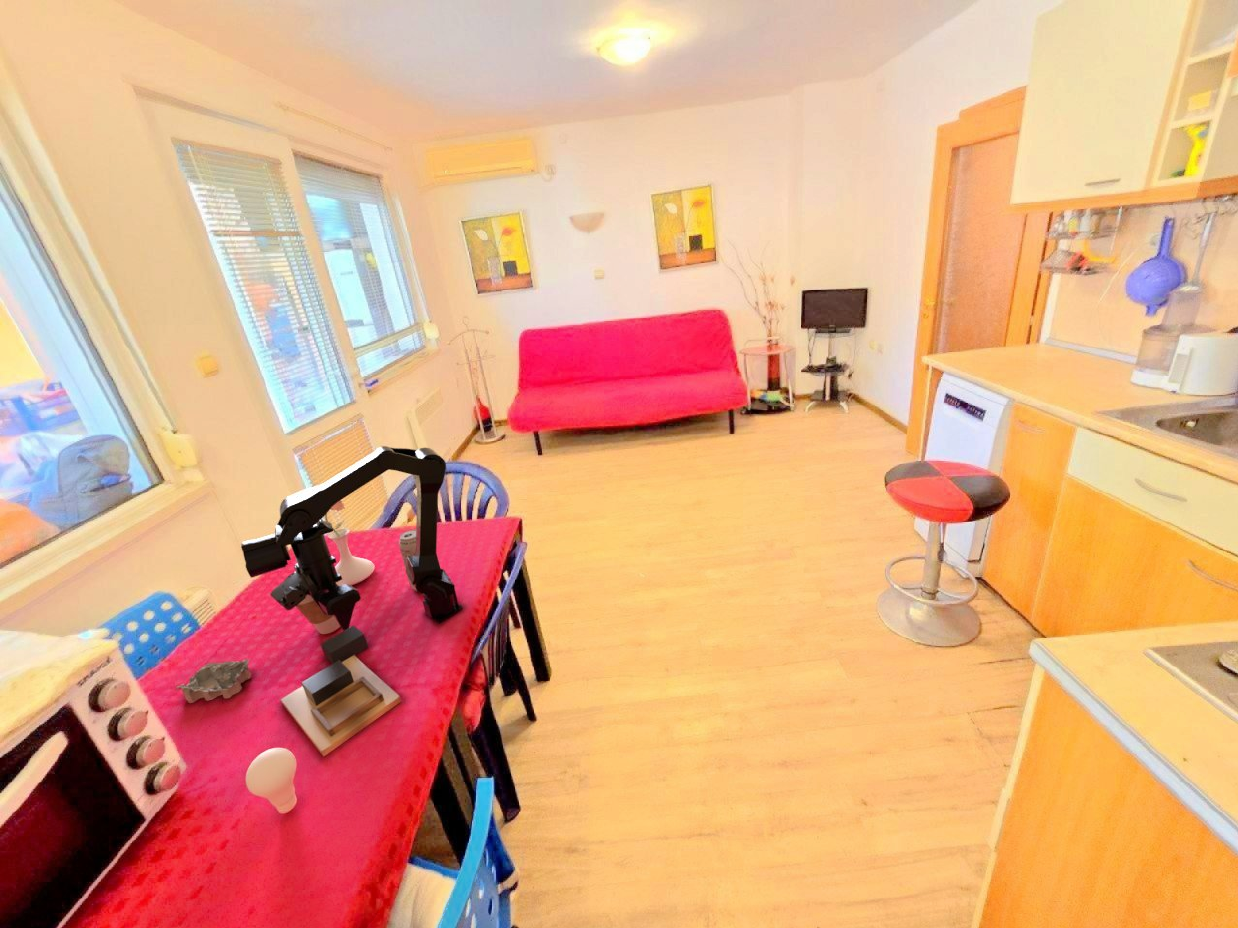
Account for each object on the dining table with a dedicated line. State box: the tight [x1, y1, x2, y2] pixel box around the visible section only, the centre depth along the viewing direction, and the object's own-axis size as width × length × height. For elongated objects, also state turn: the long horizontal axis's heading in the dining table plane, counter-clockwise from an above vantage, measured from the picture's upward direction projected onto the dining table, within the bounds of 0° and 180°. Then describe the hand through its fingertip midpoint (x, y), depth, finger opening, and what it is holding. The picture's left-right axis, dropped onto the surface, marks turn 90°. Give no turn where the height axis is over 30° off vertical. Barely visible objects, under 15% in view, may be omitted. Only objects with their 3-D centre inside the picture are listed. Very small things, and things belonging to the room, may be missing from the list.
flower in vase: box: [324, 500, 376, 586], centre depth 131 cm, size 13×11×25 cm
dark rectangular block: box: [320, 625, 369, 664], centre depth 107 cm, size 7×5×4 cm
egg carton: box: [174, 658, 252, 704], centre depth 101 cm, size 11×8×4 cm
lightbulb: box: [245, 747, 298, 814], centre depth 74 cm, size 6×6×11 cm
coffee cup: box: [283, 572, 341, 635], centre depth 113 cm, size 8×8×15 cm
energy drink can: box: [398, 529, 418, 592], centre depth 126 cm, size 6×6×15 cm
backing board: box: [279, 655, 402, 757], centre depth 94 cm, size 14×19×4 cm
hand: (336, 620), depth 105 cm, fingers open, 9 cm apart
